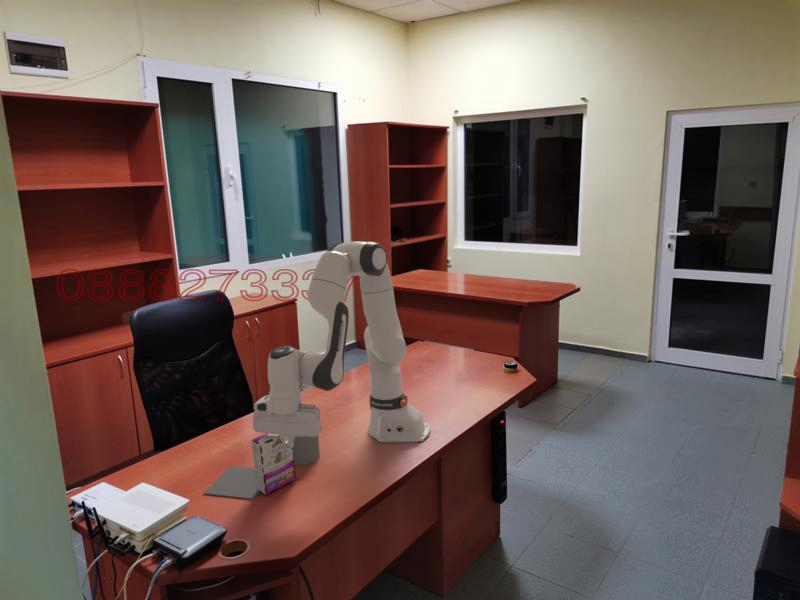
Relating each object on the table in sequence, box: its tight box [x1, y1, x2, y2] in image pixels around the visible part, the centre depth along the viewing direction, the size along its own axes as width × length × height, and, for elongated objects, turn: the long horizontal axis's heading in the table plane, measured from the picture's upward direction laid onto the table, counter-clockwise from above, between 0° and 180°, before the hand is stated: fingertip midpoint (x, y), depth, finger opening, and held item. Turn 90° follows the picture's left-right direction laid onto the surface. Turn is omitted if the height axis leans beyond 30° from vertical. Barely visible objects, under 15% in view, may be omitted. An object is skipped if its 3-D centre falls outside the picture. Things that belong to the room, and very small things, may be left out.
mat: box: [203, 465, 261, 501], centre depth 172 cm, size 16×16×1 cm
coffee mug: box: [293, 435, 320, 466], centre depth 187 cm, size 13×10×10 cm
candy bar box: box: [251, 433, 297, 496], centre depth 168 cm, size 11×5×16 cm, turn 138°
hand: (288, 447), depth 165 cm, fingers closed
